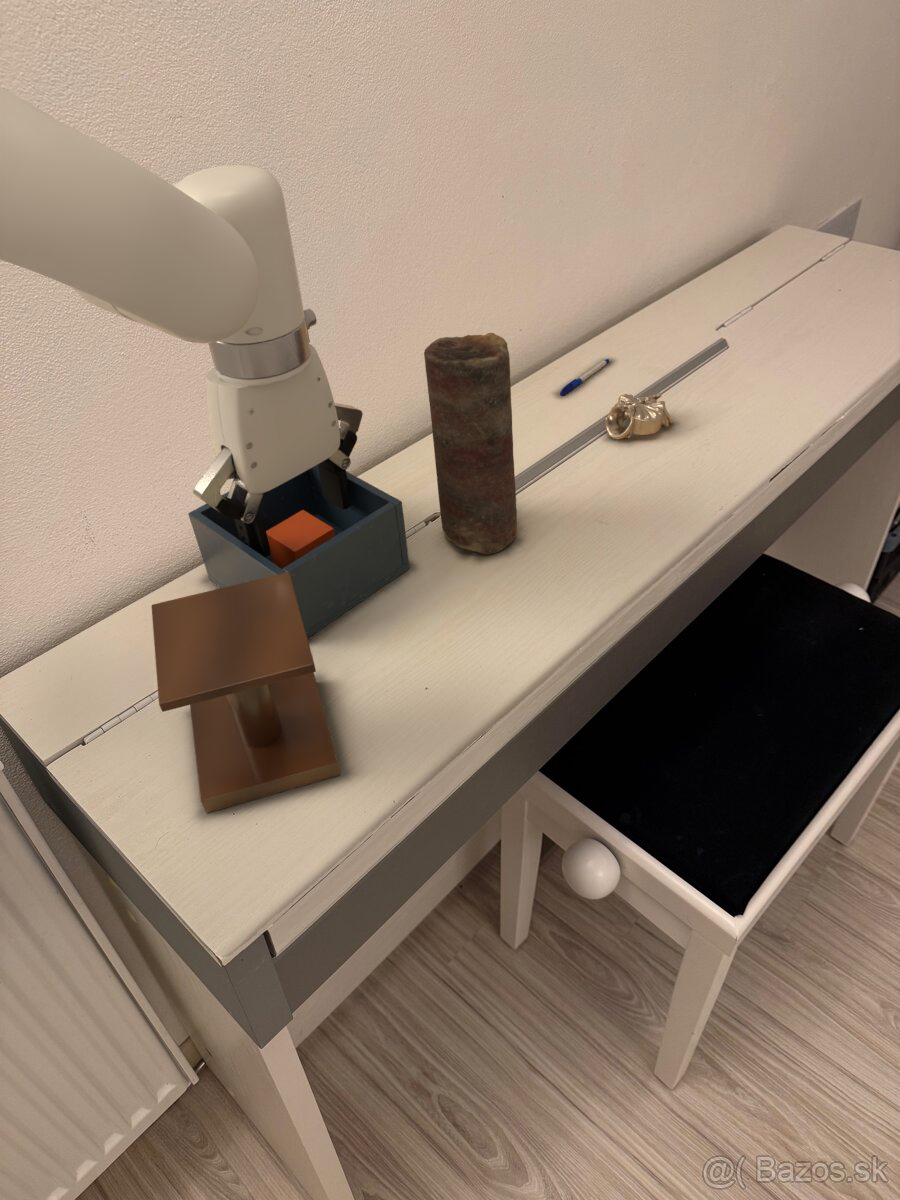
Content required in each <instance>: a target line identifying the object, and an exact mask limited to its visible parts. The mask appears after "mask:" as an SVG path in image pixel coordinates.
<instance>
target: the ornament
mask: <svg viewBox="0 0 900 1200" xmlns="http://www.w3.org/2000/svg"><path fill="white" fill-rule="evenodd" d="M661 397H662V392H657V393H654V394H650V395H649V396H643V397H642V396H636V397H634V395H633V394H628V393H625V394H620V396H618V398H617V399H618V402H617V403H615V404H614V405H613V406H612V407H611V409H610V411H609V413H608V416H607V417H605V419H604V427H605V431H606V433H607V435H608V436H609V437H610V438H612V439H614V440H621V439H629V438H631V437H632V434H635V435H641V436H642V435H652V434H656V433H657V432H659V431H660V430H661V429H662V427H666V428H667V427H669V425H671V424H673V423H674V422H675V419H674V418H673V417H672V415H671V414H670V413H669V412H668V410H667V407H666V402H665V400H660V401H657V400H659V399H660V398H661ZM625 420H627V421H628V422H629V423H628V425H627V427H626V428H624V421H625Z"/></svg>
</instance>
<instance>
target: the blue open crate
mask: <svg viewBox="0 0 900 1200" xmlns="http://www.w3.org/2000/svg"><path fill="white" fill-rule="evenodd" d="M318 465H319V464H317V465H316V466H314V467H312V468H310V469H308V470H307V471H305V472H303V473H301V474H299V475H298V476H296V477H294V478H292V479H290V480H288V481H287V482H285V483H283V484H281V485H279V486H277V487H275V488H273V489H272V490H270V491H267V492H265V493H264V494H263V497H262V499H261V502H260V505H259V508H258V511H257V514H256V515H258V516H259V517H261V518H262V519H263V522H264V526H265V530H266V531H267V530H269V529H271V528H273V527H274V526H276V525H278V524H279V523H281V522H283V521H285V520H286V519H288V518H290V517H291V516H293V515H295V514H297V513H298V512H300V511H302V510H304V511H306V512H308V513H309V514H311V515H313V516H314V517H316V518H317V519H319V520H321V521H322V522H324V523H326V524H327V525H329V526H331V527H332V528H334V533H335V536H334V537H333V538H331V539H330V540H328V541H326V542H325V543H323V544H322V545H320V546H318V547H317V548H315V549H313V550H312V551H310V552H309V553H307V554H305V555H304V556H302V557H301V558H299V559H297V560H296V561H294V562H292V563H291V564H289V565H288V566H286V567H284V568H283V569H281V568H280V567H278V566H277V565H275V564H274V563H272V559H271V555H269V556H267V557H264V556H262V555H261V554H259V553H258V552H256V551H255V550H253V549H252V548H251V547H249V546H248V545H246V544H245V543H243V542H242V541H240V538H239V534H238V531H237V527H236V523H235V520H234V518H231V517H228V516H225V515H223V514H221V513H220V512H218V511H217V510H215V509H214V508H212V507H211V506H210V505H208V504H207V503H205V504H203V505H200V506H199V507H197V508H195V509H194V510H191V511H190V512H188V513H187V515H188V517H189V520H190V524H191V527H192V530H193V534H194V536H195V539H196V542H197V545H198V548H199V552H200V555H201V558H202V561H203V564H204V567H205V570H206V574H207V576H208V579H209V581H212V583H214V584H215V585H216V586H218V587H219V589H220V588H224V587H228V586H232V585H237V584H241V583H245V582H249V581H253V580H258V579H262V578H266V577H270V576H274V575H278V574H283V573H287V572H289V573H290V576H291V580H292V583H293V587H294V591H295V594H296V598H297V602H298V605H299V609H300V613H301V617H302V620H303V624H304V628H305V631H306V635H307V639H309V638H310V637H312V636H313V635H315V634H316V633H318V632H319V631H320V630H322V629H323V628H325V627H326V626H328V625H329V624H330V623H333V621H335V620H337V619H338V618H339V617H341V616H342V615H344V614H346V613H347V612H348V611H349V610H351V609H352V608H354V607H355V606H357V605H359V604H360V603H361V602H363V601H364V600H366V599H367V598H369V597H370V596H372V595H373V594H374V593H377V591H379V590H380V589H382V588H384V587H385V586H386V585H387V584H389V583H391V582H392V581H393V580H395V579H397V578H398V577H400V576H401V575H402V574H404V573H406V572H407V571H409V570H410V569H411V568H410V559H409V551H408V543H407V542H408V541H407V534H406V533H407V532H406V525H405V516H404V509H403V501H402V500H400V499H398V498H396V497H395V496H393V495H391V494H389V493H387V492H385V491H383V490H381V489H380V488H378V487H376V486H374V485H373V484H371V483H369V482H367V481H365V480H363V479H362V478H361V477H358V476H356V475H354V474H353V473H350V472H349V471H347V470H346V474H347V480H348V486H349V492H348V494H349V500H350V507H349V508H348V509H346V510H344V509H341V508H339V507H337V506H336V505H334V504H332V503H331V502H329V501H327V500H326V499H325V498H324V497H323V492H322V486H321V481H320V475H319V470H318ZM247 493H248V491H245V494H244V497H243V500H242V503H244V502H245V499H246V496H247ZM228 494H229V491H227V492H225V493H223V494H221V495H222V496H224V497H228Z"/></svg>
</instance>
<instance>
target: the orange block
mask: <svg viewBox="0 0 900 1200" xmlns="http://www.w3.org/2000/svg"><path fill="white" fill-rule="evenodd" d="M266 534H267V538H268V542H269V546H270V550H271V553H270V555H271V559H272V563H274V564H275V565H277V566H278V567H280V568H281V569H283V568H284V567H286V566H288V565H289V564H291V563H292V562H294V561H296V560H297V559H299V558H301V557H302V556H304V555H305V554H307V553H309V552H310V551H312V550H313V549H315V548H317V547H318V546H320V545H322V544H323V543H325V542H326V541H328V540H330V539H331V538H333V537H334V536H335V533H334V528H332V527H331V526H329V525H327V524H326V523H324V522H322V521H321V520H319V519H317V518H316V517H314V516H313V515H311V514H309V513H308V512H306V511H304V510H302V511H300V512H298V513H297V514H295V515H293V516H291V517H290V518H288V519H286V520H285V521H283V522H281V523H279V524H278V525H276V526H274V527H273V528H271V529H269V530H267V531H266Z"/></svg>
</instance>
